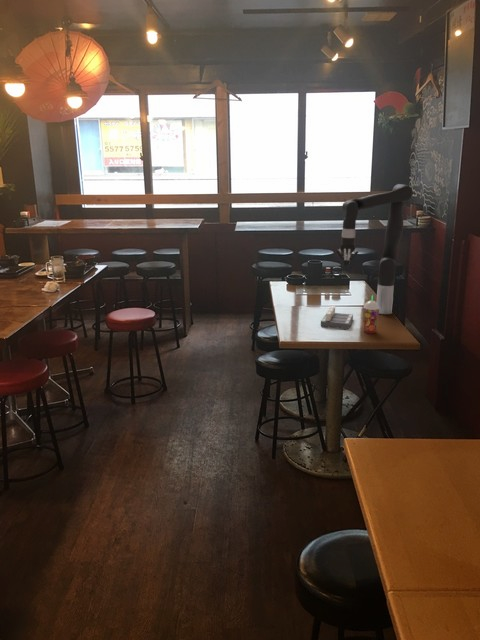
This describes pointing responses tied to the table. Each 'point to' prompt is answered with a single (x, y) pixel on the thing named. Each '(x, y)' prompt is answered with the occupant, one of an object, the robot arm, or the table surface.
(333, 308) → the block
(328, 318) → the breaker near
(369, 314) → the smoothie
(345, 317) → the breaker panel
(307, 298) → the table surface
